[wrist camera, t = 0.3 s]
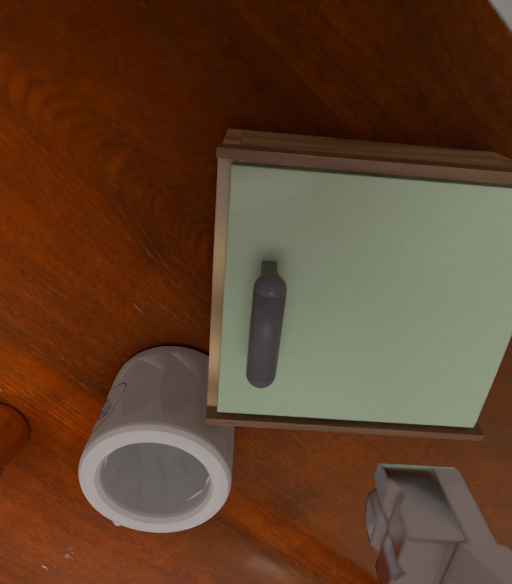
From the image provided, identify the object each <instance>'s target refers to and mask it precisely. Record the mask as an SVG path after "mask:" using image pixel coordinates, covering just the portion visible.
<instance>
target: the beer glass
mask: <svg viewBox="0 0 512 584" xmlns="http://www.w3.org/2000/svg"><path fill="white" fill-rule="evenodd" d="M28 437H29V426H28V423H27V422H26V420H25V418H24V417H23V416H22V415H21V414H20V413H19V412H18V411H16V410H15V409H14V408H12V407H10V406H8V405H5V404H3V403H0V477H1V475H2V473H3V471H4V469H5V467H6V466H7V464H8V463H9V461H10V460H11V459H12V457H13V456H14V455H15V454H16V453H17V452H18V451H19V450H20V449H21V448H22V447H23V445H24V444H25V443H26V441H27V440H28Z"/></svg>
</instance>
